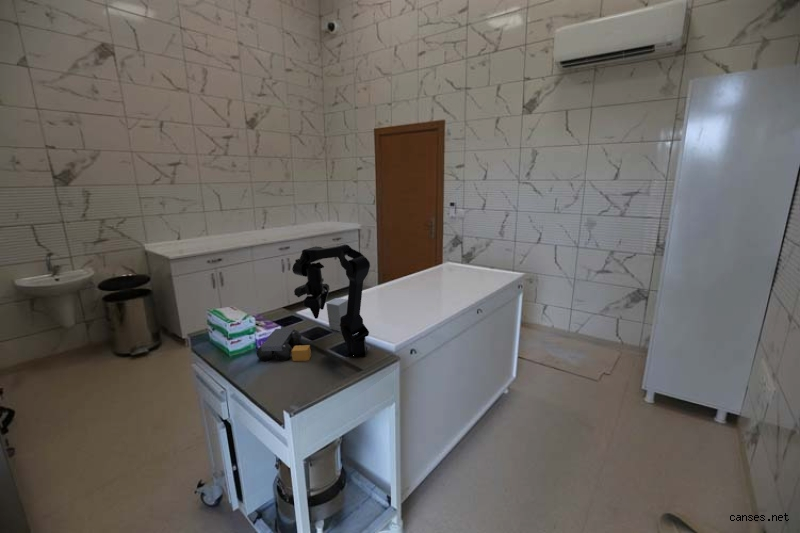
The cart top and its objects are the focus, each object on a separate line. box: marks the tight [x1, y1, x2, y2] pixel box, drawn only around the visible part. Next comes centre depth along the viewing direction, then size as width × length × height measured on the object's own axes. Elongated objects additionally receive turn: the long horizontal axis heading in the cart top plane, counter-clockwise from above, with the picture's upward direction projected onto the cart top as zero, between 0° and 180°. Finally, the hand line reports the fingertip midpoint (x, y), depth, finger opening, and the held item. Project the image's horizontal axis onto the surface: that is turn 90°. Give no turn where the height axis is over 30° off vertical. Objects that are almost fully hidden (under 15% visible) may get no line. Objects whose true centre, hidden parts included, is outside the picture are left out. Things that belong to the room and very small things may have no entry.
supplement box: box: [325, 297, 348, 332], centre depth 164 cm, size 7×7×13 cm
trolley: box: [256, 327, 302, 362], centre depth 146 cm, size 13×15×6 cm
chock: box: [291, 344, 312, 362], centre depth 141 cm, size 6×4×4 cm, turn 88°
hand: (319, 313), depth 152 cm, fingers open, 9 cm apart
